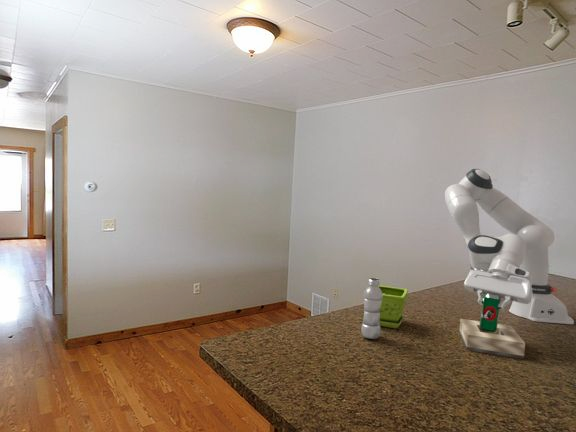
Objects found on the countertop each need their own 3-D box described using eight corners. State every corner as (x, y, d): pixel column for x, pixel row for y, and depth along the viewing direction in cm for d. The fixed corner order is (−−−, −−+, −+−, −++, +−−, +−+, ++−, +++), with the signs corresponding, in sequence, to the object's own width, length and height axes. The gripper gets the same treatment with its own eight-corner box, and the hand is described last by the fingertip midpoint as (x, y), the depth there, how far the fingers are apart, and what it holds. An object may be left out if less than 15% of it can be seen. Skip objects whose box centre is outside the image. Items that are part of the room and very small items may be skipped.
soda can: (499, 333, 118) (504, 297, 118) (485, 331, 117) (490, 295, 117) (489, 328, 123) (494, 293, 123) (475, 326, 122) (480, 291, 122)
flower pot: (406, 320, 140) (408, 288, 139) (401, 332, 128) (404, 297, 127) (370, 314, 146) (372, 283, 145) (362, 325, 133) (364, 291, 133)
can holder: (509, 339, 126) (510, 325, 126) (523, 359, 111) (525, 343, 110) (459, 332, 131) (460, 318, 130) (466, 349, 116) (467, 334, 115)
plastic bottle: (381, 335, 124) (384, 278, 123) (379, 343, 118) (383, 282, 116) (362, 332, 126) (365, 276, 125) (359, 339, 120) (363, 280, 118)
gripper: (469, 262, 132) (456, 292, 126) (535, 273, 117) (523, 308, 111) (473, 272, 135) (460, 302, 129) (537, 285, 120) (526, 320, 114)
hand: (490, 305), depth 120 cm, fingers closed on soda can, 5 cm apart
